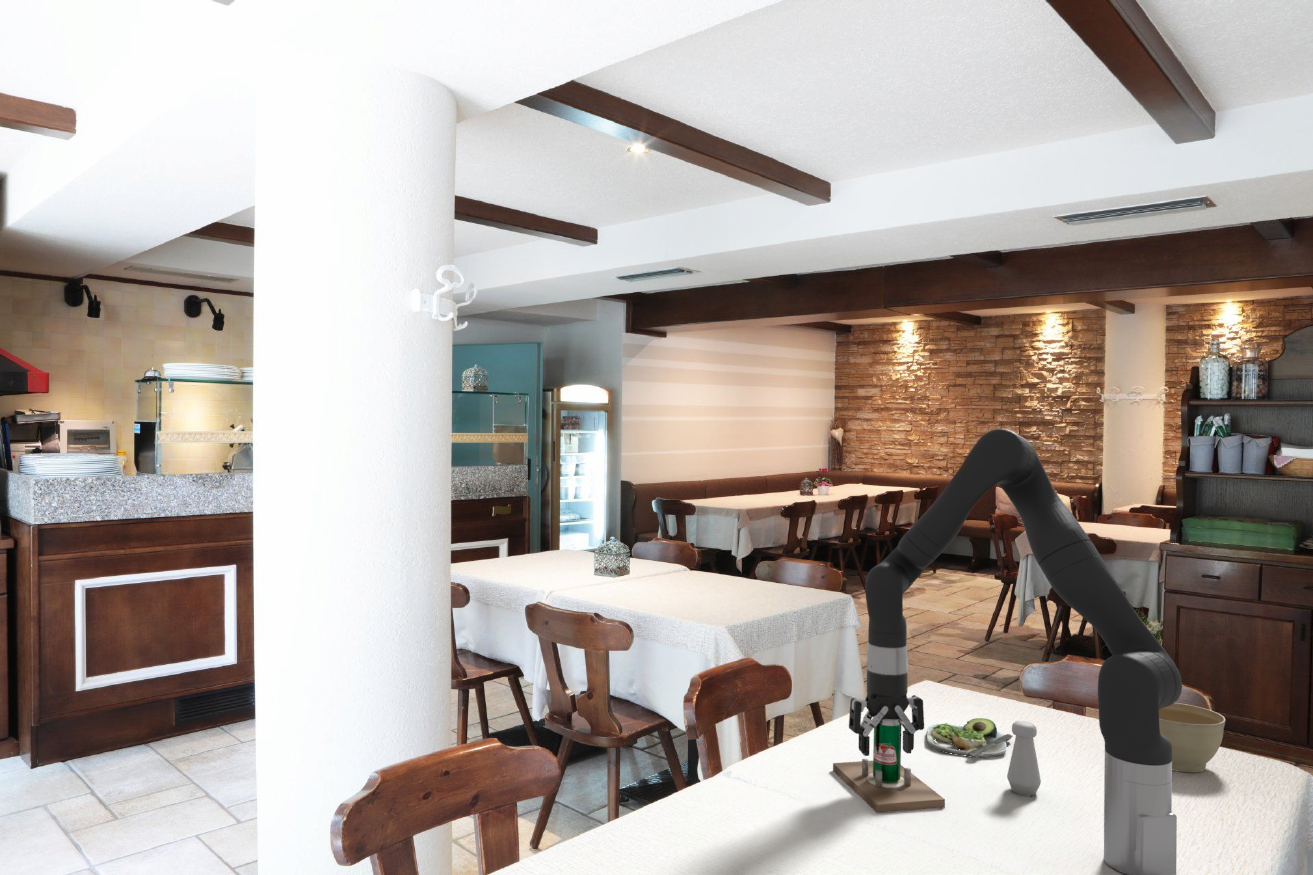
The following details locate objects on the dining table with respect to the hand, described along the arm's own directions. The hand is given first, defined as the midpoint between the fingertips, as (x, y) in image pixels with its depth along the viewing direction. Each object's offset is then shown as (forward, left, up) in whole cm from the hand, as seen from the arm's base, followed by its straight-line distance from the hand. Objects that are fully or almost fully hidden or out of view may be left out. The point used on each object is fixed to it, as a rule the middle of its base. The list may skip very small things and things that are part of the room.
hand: (886, 753), depth 165 cm
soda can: (0, 0, -5) cm, 5 cm away
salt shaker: (-6, -25, -7) cm, 27 cm away
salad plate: (+20, -29, -7) cm, 36 cm away
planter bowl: (+1, -65, -7) cm, 65 cm away
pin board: (0, 0, -7) cm, 7 cm away
